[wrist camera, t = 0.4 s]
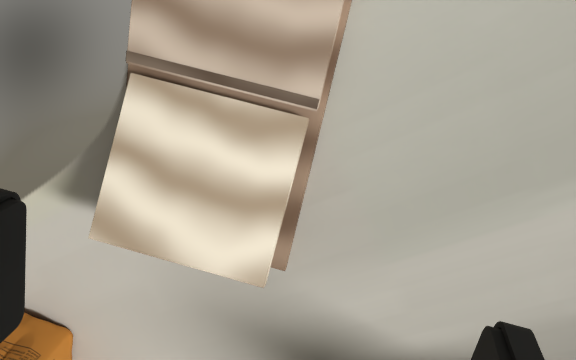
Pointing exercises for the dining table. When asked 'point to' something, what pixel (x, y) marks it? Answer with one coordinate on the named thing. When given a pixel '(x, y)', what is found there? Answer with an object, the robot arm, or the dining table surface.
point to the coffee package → (37, 341)
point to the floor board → (247, 63)
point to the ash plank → (198, 179)
